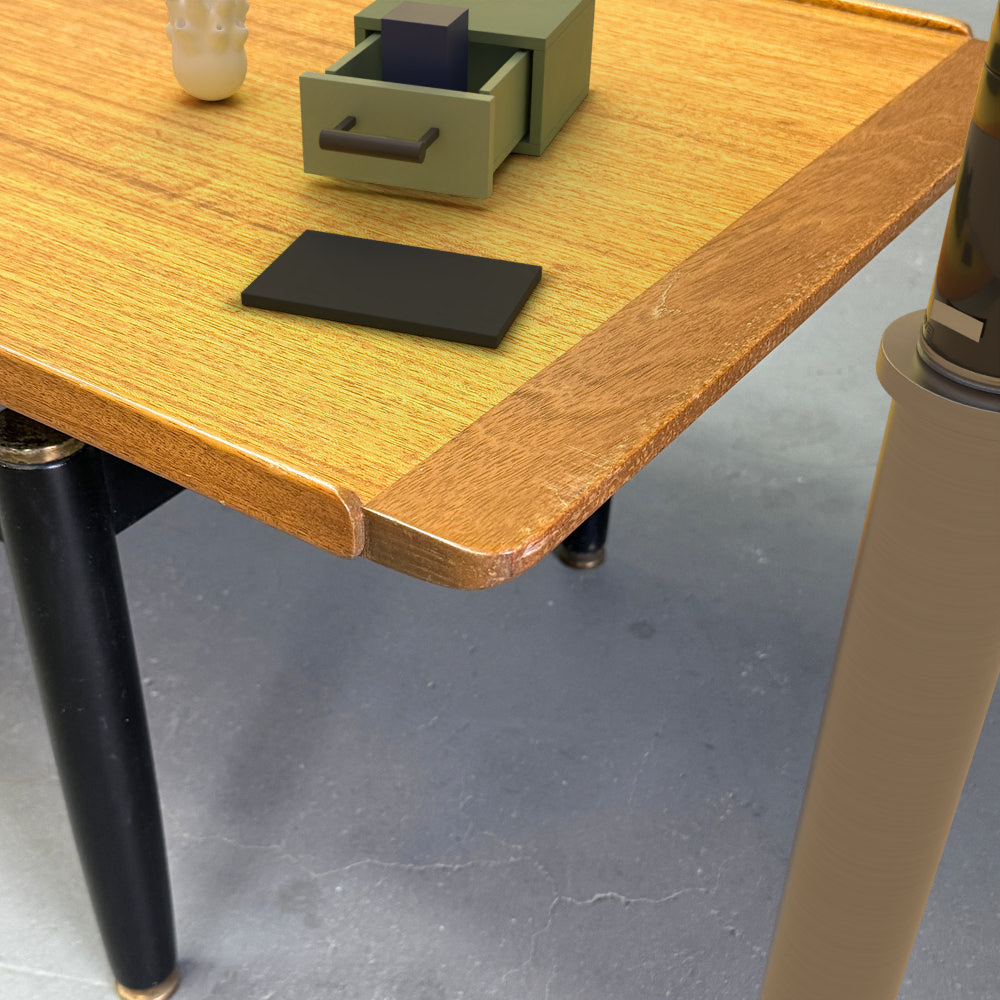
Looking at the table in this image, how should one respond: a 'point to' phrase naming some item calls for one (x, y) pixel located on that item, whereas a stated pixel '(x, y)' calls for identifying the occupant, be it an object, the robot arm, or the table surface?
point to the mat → (396, 287)
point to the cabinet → (530, 25)
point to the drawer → (416, 121)
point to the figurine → (208, 46)
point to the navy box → (426, 46)
